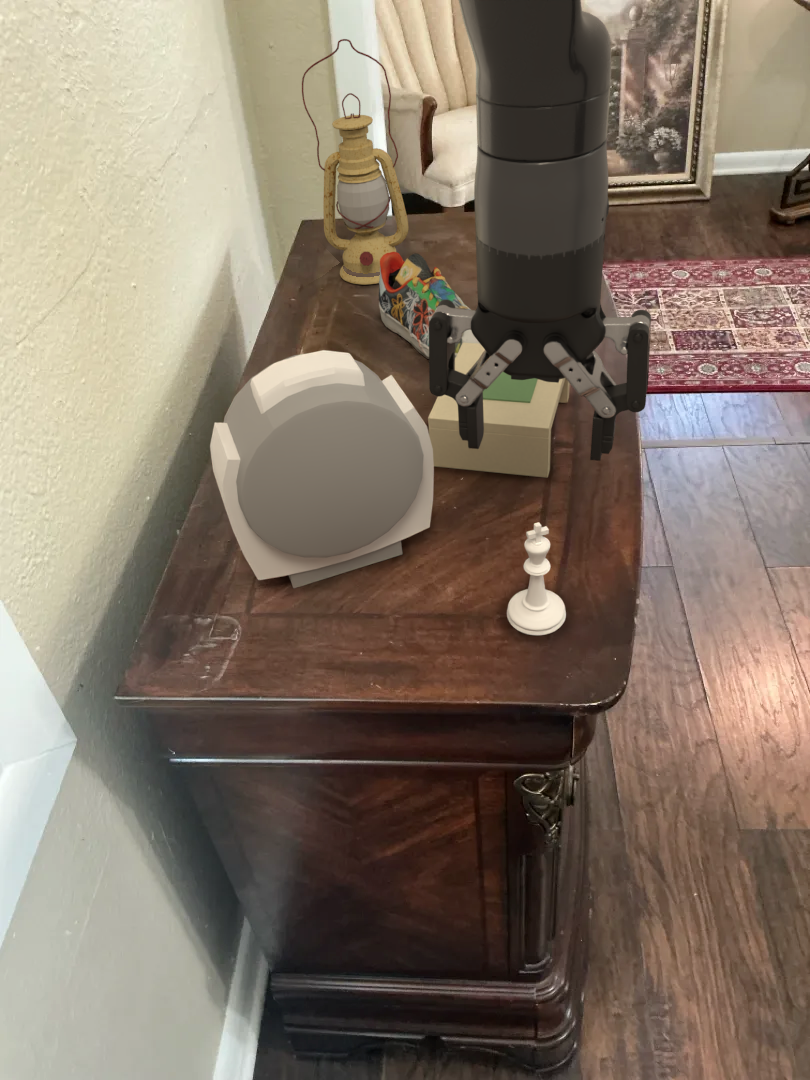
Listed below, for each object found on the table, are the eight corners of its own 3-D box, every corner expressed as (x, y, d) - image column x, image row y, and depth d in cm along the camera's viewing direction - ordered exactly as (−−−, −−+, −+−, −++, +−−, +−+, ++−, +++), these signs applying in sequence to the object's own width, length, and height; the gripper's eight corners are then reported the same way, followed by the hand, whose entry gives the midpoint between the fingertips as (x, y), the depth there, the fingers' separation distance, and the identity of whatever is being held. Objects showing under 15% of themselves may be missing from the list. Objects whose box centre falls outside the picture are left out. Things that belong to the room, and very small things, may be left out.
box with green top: (569, 396, 97) (571, 347, 93) (547, 478, 86) (548, 426, 82) (464, 388, 100) (462, 340, 96) (432, 466, 89) (427, 416, 85)
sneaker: (471, 385, 100) (466, 308, 94) (364, 326, 114) (354, 254, 107) (519, 361, 103) (517, 284, 97) (409, 306, 117) (402, 235, 110)
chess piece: (576, 625, 71) (581, 535, 65) (520, 642, 71) (520, 553, 64) (550, 586, 75) (553, 497, 68) (497, 602, 74) (495, 513, 68)
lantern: (327, 290, 122) (288, 54, 102) (333, 260, 130) (298, 34, 110) (411, 284, 121) (389, 44, 101) (412, 254, 129) (392, 25, 109)
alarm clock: (414, 500, 85) (394, 314, 72) (446, 553, 79) (431, 360, 66) (238, 554, 82) (181, 368, 69) (257, 613, 76) (199, 422, 62)
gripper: (405, 245, 49) (425, 470, 60) (662, 253, 46) (634, 491, 57) (437, 195, 55) (450, 410, 65) (670, 199, 51) (643, 426, 62)
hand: (535, 448), depth 61 cm, fingers open, 8 cm apart
